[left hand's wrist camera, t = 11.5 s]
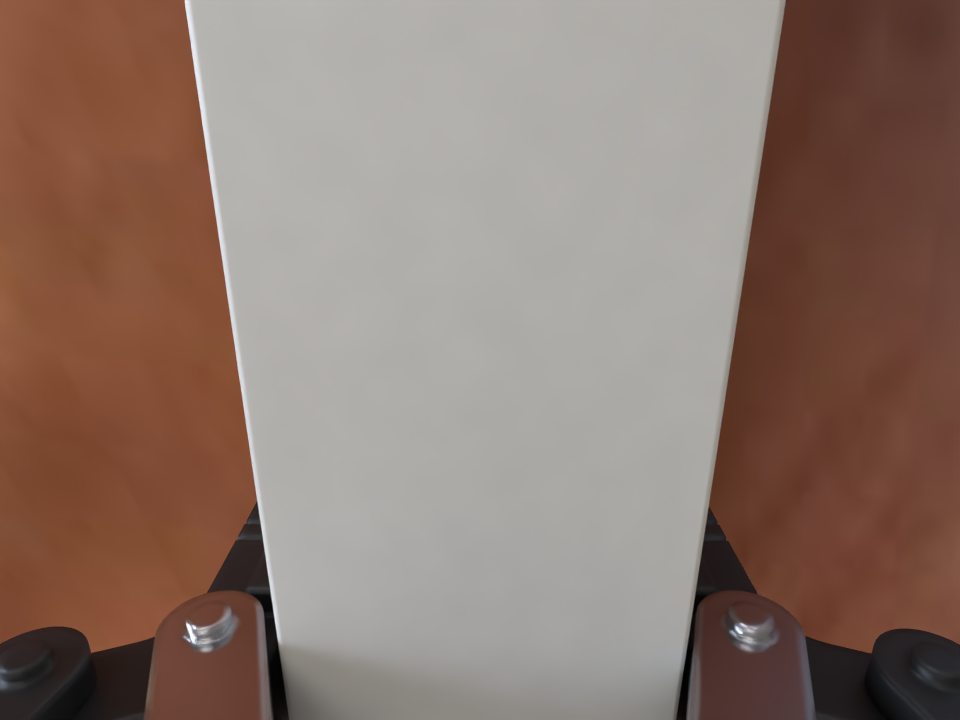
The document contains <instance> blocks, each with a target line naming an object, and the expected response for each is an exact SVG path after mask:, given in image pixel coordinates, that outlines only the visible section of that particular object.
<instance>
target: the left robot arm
mask: <svg viewBox="0 0 960 720" xmlns="http://www.w3.org/2000/svg"><path fill="white" fill-rule="evenodd" d="M0 720H289V714H288V708H287V701H286V694H285V687H284V680H283V673H282V666H281V659H280V653H279V646H278V639H277V632H276V625H275V618H274V611H273V604H272V598H271V591H270V584H269V577H268V570H267V563H266V556H265V549H264V543H263V536H262V529H261V522H260V515H259V508H258V501H257V503H256V505H255V506H254V508H253V510H252V512H251V514H250V516H249V517H248V519H247V524H245V525H244V527H243V528H242V530H241V532H240V534H239V536H238V540H236V541H235V543H234V545H233V547H232V548H231V550H230V552H229V554H228V556H227V558H226V559H225V561H224V563H223V565H222V567H221V569H220V570H219V572H218V574H217V576H216V578H215V579H214V581H213V583H212V585H211V587H210V589H209V590H208V592H207V593H206V594H203V595H200V596H197V597H195V598H192V599H190V600H188V601H186V602H185V603H183V604H181V605H180V606H178V607H177V608H175V609H174V610H173V611H172V612H170V613H169V614H168V615H167V616H166V618H165V619H164V620H163V621H162V623H161V624H160V625H159V627H158V629H157V631H156V635H155V637H153V638H150V639H147V640H144V641H140V642H137V643H133V644H128V645H124V646H120V647H116V648H112V649H107V650H103V651H99V652H95V653H91V651H90V647H89V644H88V641H87V638H86V637H85V636H84V635H83V633H81V632H79V631H78V630H76V629H72V628H68V627H47V628H41V629H37V630H33V631H30V632H26V633H23V634H21V635H18V636H16V637H14V638H11V639H9V640H7V641H5V642H3V643H2V644H0ZM676 720H960V645H959V644H957V643H955V642H953V641H951V640H949V639H946V638H944V637H942V636H939V635H936V634H933V633H930V632H925V631H921V630H915V629H894V630H890V631H887V632H885V633H883V634H881V635H880V636H879V637H878V638H877V639H876V641H875V644H874V647H873V650H872V654H870V653H866V652H861V651H857V650H853V649H849V648H845V647H840V646H836V645H832V644H828V643H824V642H821V641H817V640H814V639H812V638H809V637H807V636H805V635H804V631H803V629H802V627H801V625H800V624H799V623H798V621H797V620H796V619H795V618H794V617H793V616H792V615H791V613H790V612H788V611H787V610H786V609H784V608H783V607H782V606H780V605H779V604H777V603H775V602H774V601H772V600H770V599H768V598H765V597H763V596H760V595H758V594H757V592H756V590H755V589H754V587H753V585H752V583H751V581H750V580H749V578H748V576H747V574H746V572H745V571H744V569H743V567H742V565H741V563H740V562H739V560H738V558H737V556H736V554H735V553H734V551H733V549H732V547H731V545H730V544H729V542H728V541H726V536H725V535H724V533H723V531H722V529H721V527H720V526H719V525H717V520H716V518H715V517H714V515H713V513H712V511H711V509H710V508H709V507H708V514H707V520H706V527H705V533H704V540H703V547H702V553H701V560H700V566H699V573H698V579H697V586H696V592H695V599H694V606H693V612H692V619H691V625H690V632H689V638H688V645H687V652H686V658H685V665H684V671H683V678H682V684H681V691H680V697H679V704H678V711H677V717H676Z"/></svg>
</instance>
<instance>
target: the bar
mask: <svg viewBox="0 0 960 720" xmlns="http://www.w3.org/2000/svg"><path fill="white" fill-rule="evenodd" d="M785 2H786V0H185V6H186V13H187V20H188V27H189V34H190V41H191V48H192V54H193V61H194V68H195V75H196V82H197V89H198V96H199V103H200V109H201V116H202V123H203V130H204V137H205V144H206V151H207V158H208V164H209V171H210V178H211V185H212V192H213V199H214V206H215V213H216V219H217V226H218V233H219V240H220V247H221V254H222V261H223V268H224V274H225V281H226V288H227V295H228V302H229V309H230V316H231V323H232V329H233V336H234V343H235V350H236V357H237V364H238V371H239V378H240V384H241V391H242V398H243V405H244V412H245V419H246V426H247V433H248V439H249V446H250V453H251V460H252V467H253V474H254V481H255V488H256V494H257V501H258V508H259V515H260V522H261V529H262V536H263V543H264V549H265V556H266V563H267V570H268V577H269V584H270V591H271V598H272V604H273V611H274V618H275V625H276V632H277V639H278V646H279V653H280V659H281V666H282V673H283V680H284V687H285V694H286V701H287V708H288V714H289V720H676V717H677V711H678V704H679V697H680V691H681V684H682V678H683V671H684V665H685V658H686V652H687V645H688V638H689V632H690V625H691V619H692V612H693V606H694V599H695V592H696V586H697V579H698V573H699V566H700V560H701V553H702V547H703V540H704V533H705V527H706V520H707V514H708V507H709V501H710V494H711V487H712V481H713V474H714V468H715V461H716V455H717V448H718V442H719V435H720V428H721V422H722V415H723V409H724V402H725V396H726V389H727V383H728V376H729V369H730V363H731V356H732V350H733V343H734V337H735V330H736V323H737V317H738V310H739V304H740V297H741V291H742V284H743V278H744V271H745V264H746V258H747V251H748V245H749V238H750V232H751V225H752V219H753V212H754V205H755V199H756V192H757V186H758V179H759V173H760V166H761V159H762V153H763V146H764V140H765V133H766V127H767V120H768V114H769V107H770V100H771V94H772V87H773V81H774V74H775V68H776V61H777V55H778V48H779V41H780V35H781V28H782V22H783V15H784V9H785Z"/></svg>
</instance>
